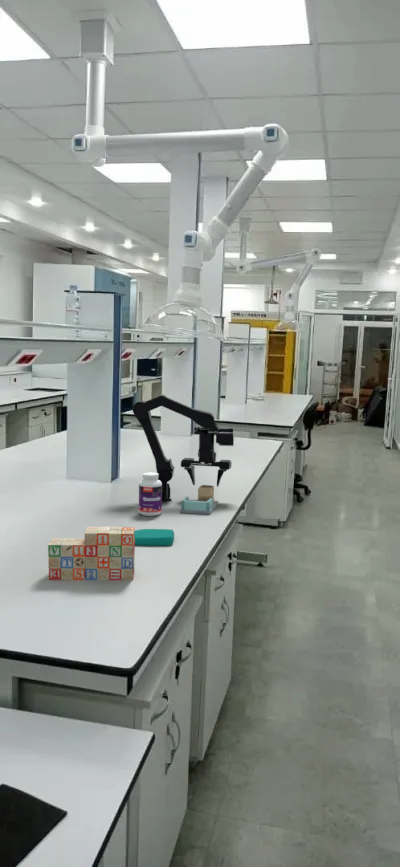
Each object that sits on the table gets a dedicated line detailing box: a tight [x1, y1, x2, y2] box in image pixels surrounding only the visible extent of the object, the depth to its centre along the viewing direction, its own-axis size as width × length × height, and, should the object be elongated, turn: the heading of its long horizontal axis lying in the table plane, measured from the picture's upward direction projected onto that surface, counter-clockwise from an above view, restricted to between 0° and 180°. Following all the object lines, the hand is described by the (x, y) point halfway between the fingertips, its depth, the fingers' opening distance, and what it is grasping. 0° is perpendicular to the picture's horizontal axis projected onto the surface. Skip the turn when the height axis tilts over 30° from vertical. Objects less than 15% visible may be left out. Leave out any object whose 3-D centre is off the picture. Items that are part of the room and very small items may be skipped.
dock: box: [179, 496, 219, 515], centre depth 237 cm, size 15×11×4 cm
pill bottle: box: [138, 471, 163, 517], centre depth 228 cm, size 8×8×14 cm
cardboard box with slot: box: [197, 484, 215, 501], centre depth 249 cm, size 6×5×6 cm
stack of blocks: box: [47, 526, 136, 581], centre depth 166 cm, size 21×6×12 cm, turn 92°
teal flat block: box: [135, 528, 175, 547], centre depth 197 cm, size 3×11×25 cm
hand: (205, 485), depth 248 cm, fingers open, 9 cm apart
